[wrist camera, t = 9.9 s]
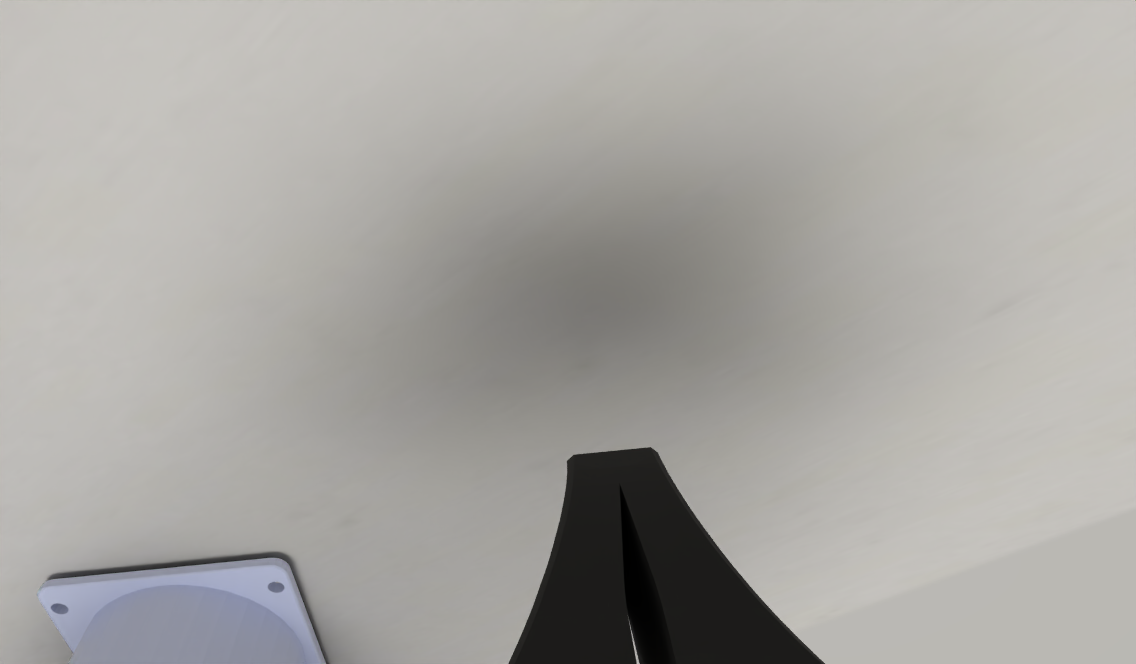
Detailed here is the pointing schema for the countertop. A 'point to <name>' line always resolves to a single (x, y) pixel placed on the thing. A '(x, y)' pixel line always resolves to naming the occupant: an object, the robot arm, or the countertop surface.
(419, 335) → the countertop surface
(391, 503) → the countertop surface
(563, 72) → the countertop surface
